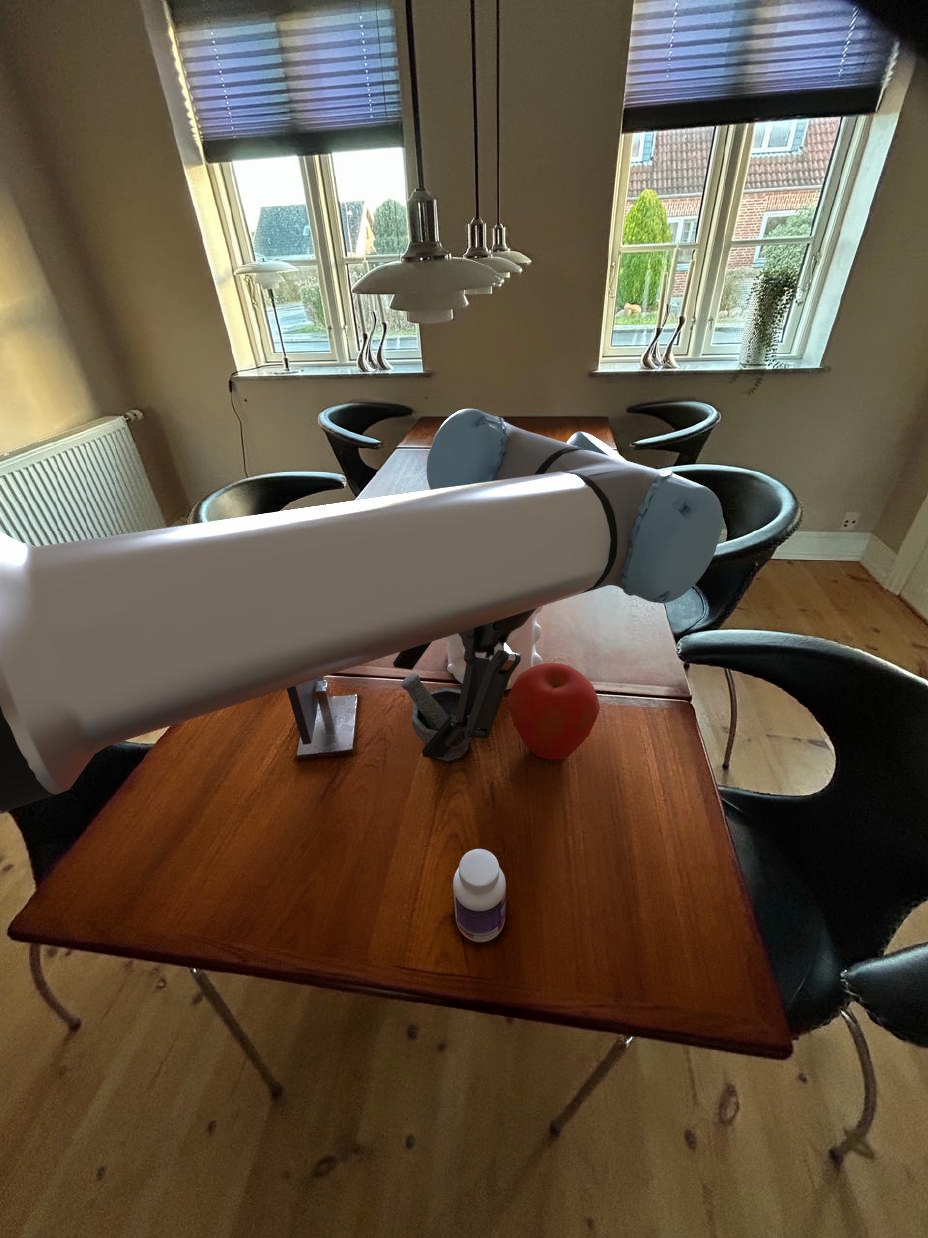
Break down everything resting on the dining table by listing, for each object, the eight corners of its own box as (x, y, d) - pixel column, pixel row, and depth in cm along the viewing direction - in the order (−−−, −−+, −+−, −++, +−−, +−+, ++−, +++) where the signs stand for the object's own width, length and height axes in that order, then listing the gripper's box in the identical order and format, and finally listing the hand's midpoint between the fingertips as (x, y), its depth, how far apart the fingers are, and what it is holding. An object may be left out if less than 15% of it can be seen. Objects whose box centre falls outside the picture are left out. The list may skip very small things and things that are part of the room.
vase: (428, 679, 91) (412, 502, 73) (468, 628, 103) (462, 466, 85) (522, 705, 85) (529, 520, 67) (552, 649, 97) (565, 478, 79)
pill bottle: (512, 934, 56) (514, 884, 51) (463, 951, 55) (460, 901, 50) (495, 887, 61) (495, 836, 55) (450, 901, 59) (445, 850, 54)
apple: (491, 746, 78) (490, 673, 70) (542, 705, 85) (546, 634, 77) (558, 795, 71) (566, 718, 63) (608, 746, 77) (621, 671, 69)
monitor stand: (297, 759, 77) (284, 717, 72) (308, 703, 87) (297, 663, 82) (352, 754, 78) (343, 711, 73) (357, 698, 88) (349, 658, 83)
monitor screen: (301, 744, 73) (284, 684, 67) (316, 671, 86) (302, 615, 80) (311, 744, 73) (294, 683, 67) (324, 670, 86) (311, 614, 80)
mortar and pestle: (489, 729, 81) (488, 668, 74) (470, 776, 74) (467, 713, 67) (421, 714, 84) (414, 654, 77) (396, 758, 77) (386, 696, 70)
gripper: (596, 673, 49) (474, 799, 59) (497, 522, 65) (414, 640, 75) (539, 661, 44) (417, 799, 55) (448, 502, 61) (367, 631, 71)
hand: (415, 707), depth 65 cm, fingers open, 13 cm apart
